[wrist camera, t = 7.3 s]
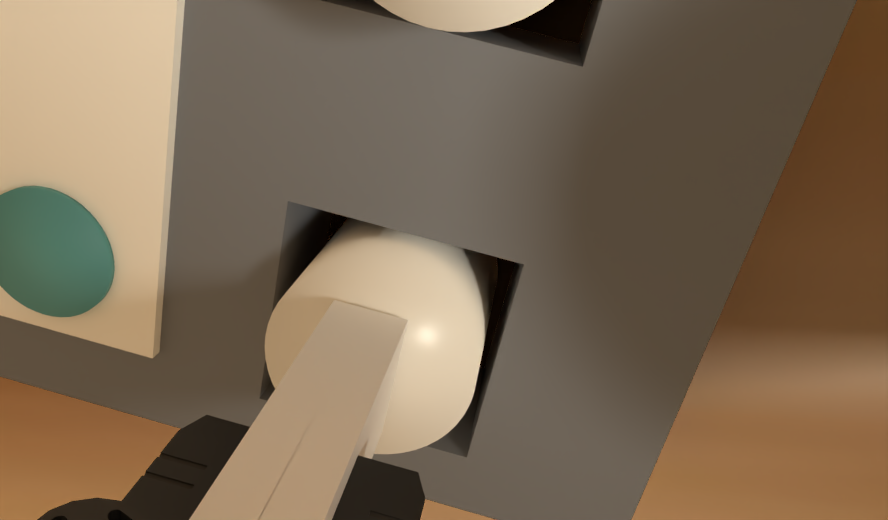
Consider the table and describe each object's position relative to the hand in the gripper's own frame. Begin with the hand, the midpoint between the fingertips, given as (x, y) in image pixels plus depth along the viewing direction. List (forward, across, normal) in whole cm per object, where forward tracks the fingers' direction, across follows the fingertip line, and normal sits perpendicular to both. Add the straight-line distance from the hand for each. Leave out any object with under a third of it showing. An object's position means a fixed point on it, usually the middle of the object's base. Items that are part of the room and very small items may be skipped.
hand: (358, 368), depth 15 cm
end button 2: (+5, 0, 0) cm, 5 cm away
